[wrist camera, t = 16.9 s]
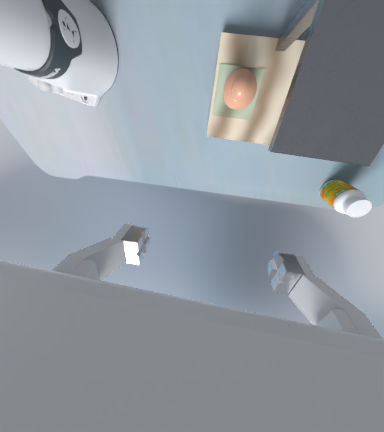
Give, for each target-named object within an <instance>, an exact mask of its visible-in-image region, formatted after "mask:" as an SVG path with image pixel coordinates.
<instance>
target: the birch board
mask: <svg viewBox="0 0 384 432" xmlns="http://www.w3.org/2000/svg"><path fill="white" fill-rule="evenodd" d="M278 39H279V38H273V37H264V36H254V35H244V34H234V33H224V32H222V33H221V40H220V46H219V53H218V60H217V67H216V74H215V81H214V88H213V95H212V101H211V108H210V115H209V122H208V129H207V136H209V137H216V138H223V139H230V140H237V141H244V142H251V143H258V144H265V145H270V143H271V140H272V137H273V135H274V132H275V129H276V126H277V123H278V120H279V117H280V114H281V111H282V108H283V105H284V102H285V99H286V96H287V94H288V91H289V88H290V85H291V82H292V79H293V76H294V73H295V70H296V67H297V64H298V61H299V58H300V55H301V53H302V50H303V47H304V44H305V41H303V40H295V41H294V42H293V43H292V44H291V45H290V46H289V47H288V48H287V49H286V50H285V51H275V50H276V46H277V43H278ZM239 69H247V70H249V71H251V72H252V73H253V74H254V76H255V78H256V81H257V91H256V95H255V97H254V99H253V101H252V102H251V103H250V104H249V105H248V106H247V107H245V108H243V109H239V110H235V109H230V108H228V107H227V106H226V105H225V103H224V100H223V90H224V85H225V82H226V80H227V79H228V77H229V76H230V75H231V74H232V73H233V72H234V71H236V70H239Z"/></svg>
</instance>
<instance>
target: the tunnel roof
mask: <svg viewBox="0 0 384 432" xmlns="http://www.w3.org/2000/svg"><path fill="white" fill-rule="evenodd" d="M310 25H311V26H310ZM309 26H310V29H309V32H308V35H307V38H306V41H305V44H304V47H303V50H302V53H301V55H300V58H299V61H298V64H297V67H296V70H295V73H294V76H293V79H292V82H291V85H290V88H289V91H288V94H287V96H286V99H285V102H284V105H283V108H282V111H281V114H280V117H279V120H278V123H277V126H276V129H275V132H274V135H273V137H272V140H271V143H270V146H269V149H268V150H269V151H271V152H275V153H282V154H289V155H296V156H303V157H309V158H316V159H323V160H330V161H337V162H344V163H350V164H357V165H364V166H369V165H370V164H371V162H372V161H373V159H374V158H375V156H376V155H377V153H378V152H379V150H380V149H381V147H382V146H383V145H384V0H307V1H306V3H305V4H304V5H303V7H302V8H301V9H300V11H299V12H298V13H297V15H296V16H295V17H294V19H293V20H292V21H291V23H290V24H289V25H288V27H287V28H286V29H285V30H284V32H283V33H282V34H281V36H280V37H279V39H278V43H277V46H276V50H275V51H285V50H286V49H287V48H288V47H289V46H290V45H291V44H292V43H293V42H294V41H295V40H296V39H297V38H298V37H299V36H300V35H301V34H302V33H303V32H304V31H305V30H306V29H307V28H308V27H309Z"/></svg>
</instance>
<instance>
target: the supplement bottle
mask: <svg viewBox="0 0 384 432" xmlns="http://www.w3.org/2000/svg"><path fill="white" fill-rule="evenodd" d="M319 195H320V197H321V198H322V199H323V200H324V201H326V202H327V203H328V204H329V205H331V206H332V207H333V208H334V209H335V210H337V211H338V212H340V213H346V214H348V215H349V216H351V217H360V216H363V215H365V214H367V213H368V212H369V211H370V210H371V208H372V203H371V202H370V201H369V200H367V199H366V196H365V194H364V193H363V192H361V191H360V190H358V189H356V188H354V187H352V186H351V185H349V184H347V183H345V182H343V181H341V180H331V181H328V182H326V183H325V184H324V185H323V186H322V187H321V189H320V191H319Z"/></svg>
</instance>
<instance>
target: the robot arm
mask: <svg viewBox="0 0 384 432" xmlns="http://www.w3.org/2000/svg"><path fill="white" fill-rule="evenodd" d="M0 65H1V66H7V67H11V68H14V69H15V70H16V71H18V72H20V73H23V74H25V75H26V76H27V78H28V79H29V80H30V82H31V83H32V84H33V85H35V86H38V88H39V89H41V90H44V91H48V92H54V93H57V94H60V95H62V96H65V97H68V98H70V99H73V100H76V101H78V102H81V103H84V104H86V105H89V106H93V107H96V106H97V105H98V103H99V101H100V98H101V96H102V94H103V93H105V92H106V91H107V90H108V89H109V88H110V87H111V85H112V84H113V82H114V80H115V77H116V74H117V68H118V53H117V47H116V42H115V39H114V36H113V33H112V30H111V28H110V26H109V24H108V22H107V20H106V19H105V17H104V16H103V14H102V13H101V12H100V11H99V9H98V8H97V7H96V6H95V5H94V4H93V3H92V2H91V1H90V0H0ZM86 97H87V100H86ZM148 234H149V228H146V227H141V226H136V225H131V224H124V226H123V227H122V228H121V229H120V230H119V231H118V232H117V233H116V235H115V236H114V237H113V238H109V239H106V240H104V241H101V242H99V243H96V244H94V245H92V246H89V247H87V248H84V249H82V250H79V251H77V252H75V253H72V254H69V255H68V256H67V257H66V258H65V259H64V260H63V261H62V262H61V263H60V264H58V265H57V266H56V267H55V268H54V269H53V270H47V269H42V268H37V267H32V266H27V265H23V264H18V263H13V262H8V261H3V260H0V432H384V340H383V339H382V337H381V336H380V335H379V333H378V332H377V330H376V329H375V328H374V326H373V325H372V323H371V322H370V321H369V319H368V318H367V317H366V315H365V314H364V313H363V312H361V311H360V310H359V309H358V308H356V307H355V306H354V305H352V304H351V303H350V302H349V301H347V300H346V299H344V298H343V297H342V296H341V295H340V294H338V293H337V292H336V291H335V290H333V289H332V288H331V287H329V286H328V285H327V284H326V283H324V282H323V281H322V280H320V279H319V278H316V277H315V275H314V274H313V272H312V270H311V269H310V267H309V265H308V264H307V262H306V260H305V259H304V257H303V256H300V255H295V254H288V253H282V252H275V253H274V255H273V258H274V259H273V260H271V261H270V262H269V264H268V274H269V276H270V277H271V278H272V281H271V284H272V287H273V290H274V292H278V293H282V294H287V295H288V296H289V297H290V298H291V299H292V301H293V302H294V303H295V304H296V305H297V307H298V308H299V309H300V310H301V312H302V313H303V314H304V315H305V316H306V318H307V319H308V320H309V321H310V322H311V324H312V325H311V324H306V323H301V322H296V321H291V320H287V319H282V318H277V317H272V316H268V315H263V314H258V313H253V312H249V311H244V310H239V309H234V308H229V307H225V306H220V305H215V304H210V303H205V302H201V301H196V300H191V299H186V298H181V297H176V296H172V295H167V294H162V293H157V292H153V291H148V290H143V289H138V288H133V287H128V286H124V285H119V284H114V283H109V282H105V281H101V280H102V279H104V278H105V277H107V276H108V275H110V274H111V273H113V272H114V271H116V270H117V269H118V268H120V267H121V266H123V265H124V264H126V263H131V264H138V265H139V264H140V262H141V260H142V259H143V254H144V253H145V252H146V251H147V249H148V246H149V241H150V240H149V237H148Z"/></svg>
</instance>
